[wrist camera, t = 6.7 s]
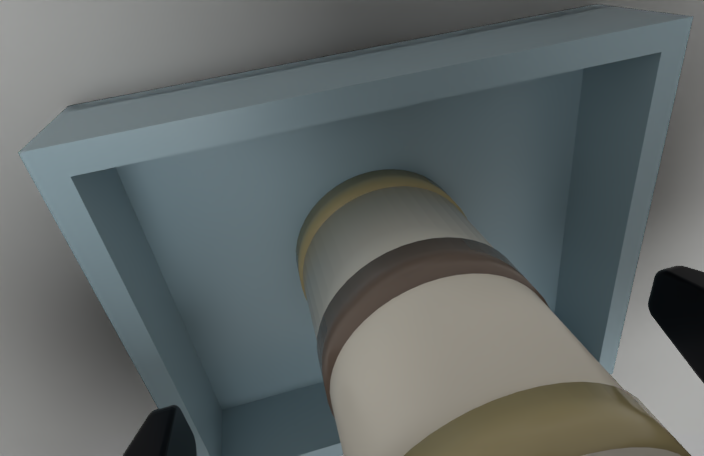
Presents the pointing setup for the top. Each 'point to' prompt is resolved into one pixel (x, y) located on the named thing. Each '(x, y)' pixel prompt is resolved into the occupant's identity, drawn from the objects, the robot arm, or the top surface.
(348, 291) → the fuse
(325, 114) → the tray
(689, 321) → the robot arm
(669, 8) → the top surface
